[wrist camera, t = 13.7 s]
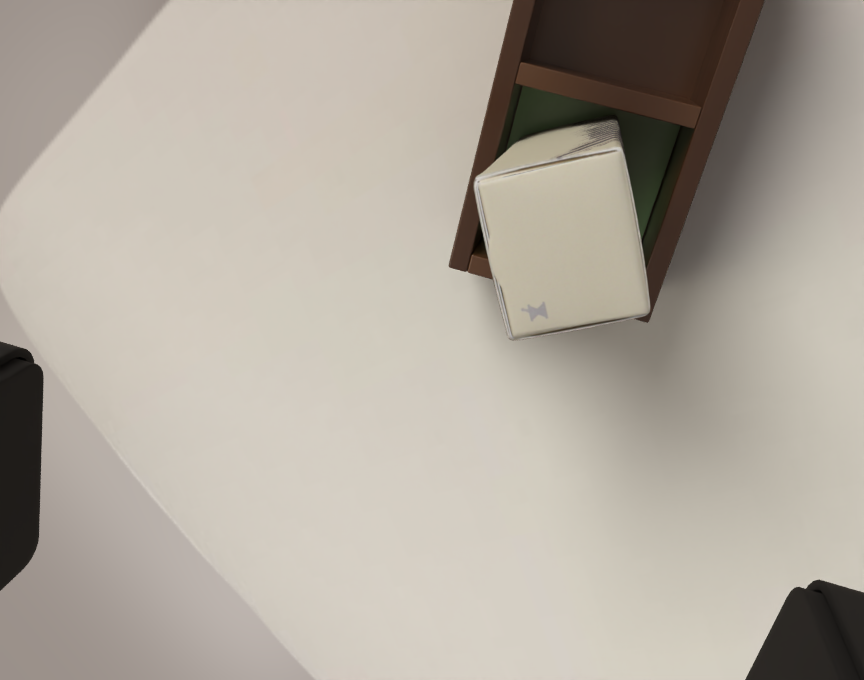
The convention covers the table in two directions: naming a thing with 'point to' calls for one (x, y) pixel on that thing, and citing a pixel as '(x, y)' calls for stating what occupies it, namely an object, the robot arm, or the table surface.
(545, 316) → the box
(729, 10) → the divided tray
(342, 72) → the table surface
